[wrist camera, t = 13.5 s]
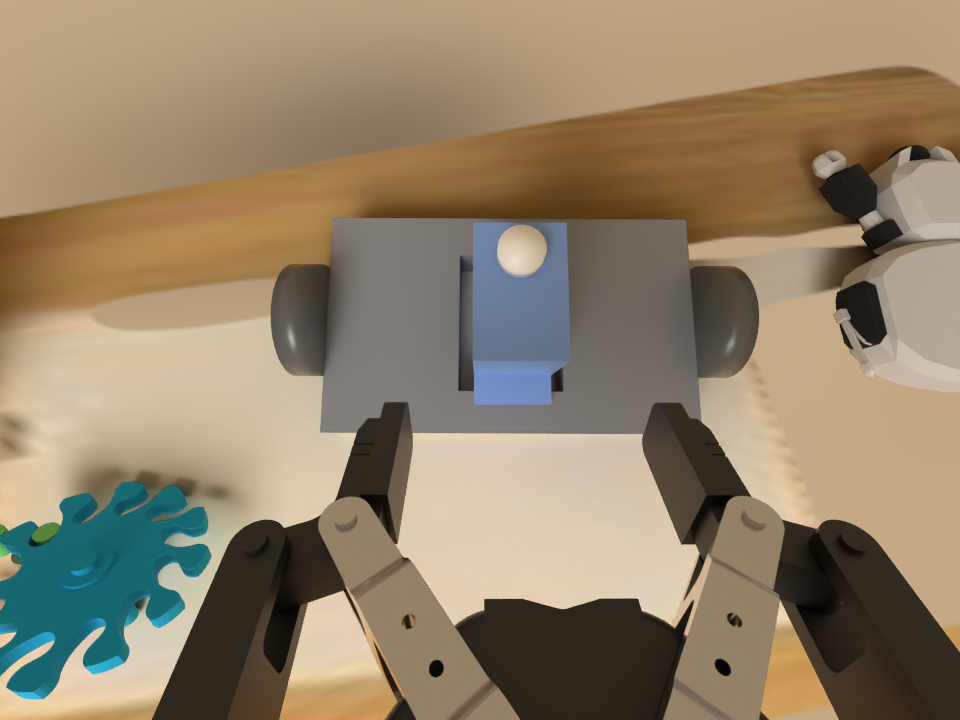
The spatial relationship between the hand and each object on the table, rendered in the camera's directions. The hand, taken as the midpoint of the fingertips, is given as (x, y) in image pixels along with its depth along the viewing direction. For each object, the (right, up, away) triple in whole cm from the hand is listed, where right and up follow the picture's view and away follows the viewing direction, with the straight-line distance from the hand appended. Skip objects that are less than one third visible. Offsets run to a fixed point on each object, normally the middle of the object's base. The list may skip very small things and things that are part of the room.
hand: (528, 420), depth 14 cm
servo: (0, +4, +12) cm, 12 cm away
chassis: (0, +4, +12) cm, 13 cm away
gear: (-21, -9, +10) cm, 25 cm away
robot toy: (+25, +7, +13) cm, 29 cm away
